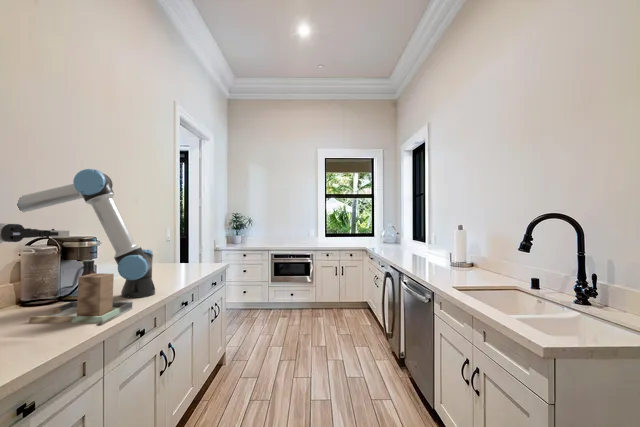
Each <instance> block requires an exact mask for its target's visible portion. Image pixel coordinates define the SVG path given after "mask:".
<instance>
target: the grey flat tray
mask: <svg viewBox="0 0 640 427" xmlns="http://www.w3.org/2000/svg"><path fill="white" fill-rule="evenodd" d="M115 309H119V314H117V315H115V316H113V317H112V318H110V319H108V320H106V321H104V316H77V301H70V302H68V303H65V304H63V305H58V306H56V307H54V308H53V313H50V314H48V315H31V316H29V323H32V324H33V323H37V324H38V323H42V324H43V323H45V324H46V323H50V324H51V323H52V324H54V323H67V324H69V323H70V324H71V323H73V324H75V323H77V324H78V323H80V324H81V323H83V324H85V323H87V324H89V323H91V324H95V323H96V326H103V325H105V324H107V323H109V322H111V321H112V320H115V319H117V318H119V317H120V316H122V315H124V314H126V313H128V312H130V311H131V310H133V302H132V301H113V305H112V311H113V310H115Z"/></svg>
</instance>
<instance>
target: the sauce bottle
mask: <svg viewBox="0 0 640 427" xmlns="http://www.w3.org/2000/svg"><path fill="white" fill-rule="evenodd" d="M82 262H83V263H82V264H83V270H82V274H81V275H80V277H81V276H85V275H89V274H93V273H95V274H97V273H96V271H95V268H94V267H95V259H86V260H82Z"/></svg>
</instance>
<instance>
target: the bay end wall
mask: <svg viewBox="0 0 640 427" xmlns="http://www.w3.org/2000/svg"><path fill="white" fill-rule="evenodd" d="M117 314H119V309H115V310H113V311H111V312H108V313H106V314H104V315H102V316H104V321H106V320H108V319H110V318H112V317H113V316H115V315H117Z"/></svg>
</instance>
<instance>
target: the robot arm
mask: <svg viewBox="0 0 640 427" xmlns="http://www.w3.org/2000/svg"><path fill="white" fill-rule="evenodd" d="M72 181H73V183H70V184H66V185H61V186H58V187H53V188H49V189H46V190H41V191H37V192H32V193H28V194H24V195H21V196H22V197H20V198H19V200H18V203H17V206H18V208H19V210H20V211H22V212H23V213H27V212H32V211H34V210H39V209H44V208H47V207H52V206H55V205H60V204H65V203H68V202H72V201H76V200H80V199H83V200H84V202H85V203H86V204H88V205H90V206H91V207H92V208H93V210H94V213H95V214H96V216H97V219H98V221H99V223H100V225H101V226H102V228H103V230H104V232H105V234H106V237H107V238H108V240H109V242H110V244H111V246H112V248H113V250H114V252H115V255H114V256H113V259H114V261H115V263H116V264H117V272H118V274H119V275H120V277H122V278H123V279H125V281H124V284H123V286H122V288H121V292H120V297H122V298H126V299H136V298H137V299H138V298H145V297H151V296H153V295H156V288H155V287H156V286H155V284H154V282H153V260H154V259H153V257H154V254H153V253H154V252H153V250H152V249H143V248H142V246H141V245H137V244H136V243H135V241H134V238H133V236H132V235H131V233H130V230H129V229H128V228H129V227H128V226H127V224H126V223H125V220H124V218H123V217H122V215H121V213H120V210H119V208H118V206H117V205H116V203H115V201H114V196H115V193H114V192H115V191H113V190H114V189H113V181H112V179H111V177H110V176H108V175H107V174H105V173H103V172H102V171H100V170H98V169H93V168H86V169H82V170H80V171H78V172H77V173H76V174H75V176H74V178H73V180H72ZM26 238H27V239H30V238H45V239H46V240H48V239H50V238H70V230H55V228H51V230H50V229H49V230H47V229H37V228H31V227H30V228H25V227H24V226H23V225H22V224H19V223H0V244H2V243H18V242H21V241H22V240H24V239H26Z"/></svg>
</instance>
